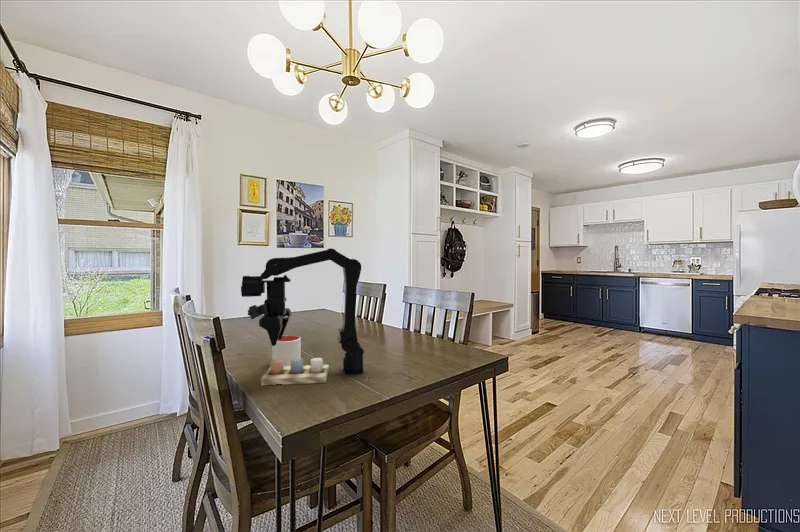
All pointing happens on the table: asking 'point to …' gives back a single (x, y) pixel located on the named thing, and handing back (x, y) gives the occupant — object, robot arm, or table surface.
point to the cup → (287, 349)
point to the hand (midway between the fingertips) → (276, 342)
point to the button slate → (296, 366)
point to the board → (295, 376)
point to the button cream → (316, 365)
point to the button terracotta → (276, 366)
